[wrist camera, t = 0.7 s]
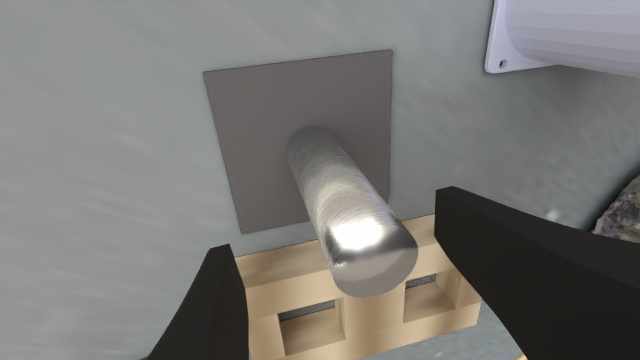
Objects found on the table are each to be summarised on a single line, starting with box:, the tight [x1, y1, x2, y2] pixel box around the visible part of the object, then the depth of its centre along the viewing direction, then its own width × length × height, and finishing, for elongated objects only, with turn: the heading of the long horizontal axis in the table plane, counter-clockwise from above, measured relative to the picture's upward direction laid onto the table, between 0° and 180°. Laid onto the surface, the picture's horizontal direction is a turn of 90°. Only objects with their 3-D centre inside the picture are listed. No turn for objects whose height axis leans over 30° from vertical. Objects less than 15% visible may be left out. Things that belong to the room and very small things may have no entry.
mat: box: [203, 49, 392, 234], centre depth 20 cm, size 10×10×1 cm
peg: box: [286, 125, 418, 298], centre depth 15 cm, size 3×3×10 cm
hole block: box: [235, 214, 482, 360], centre depth 25 cm, size 18×10×3 cm, turn 94°
